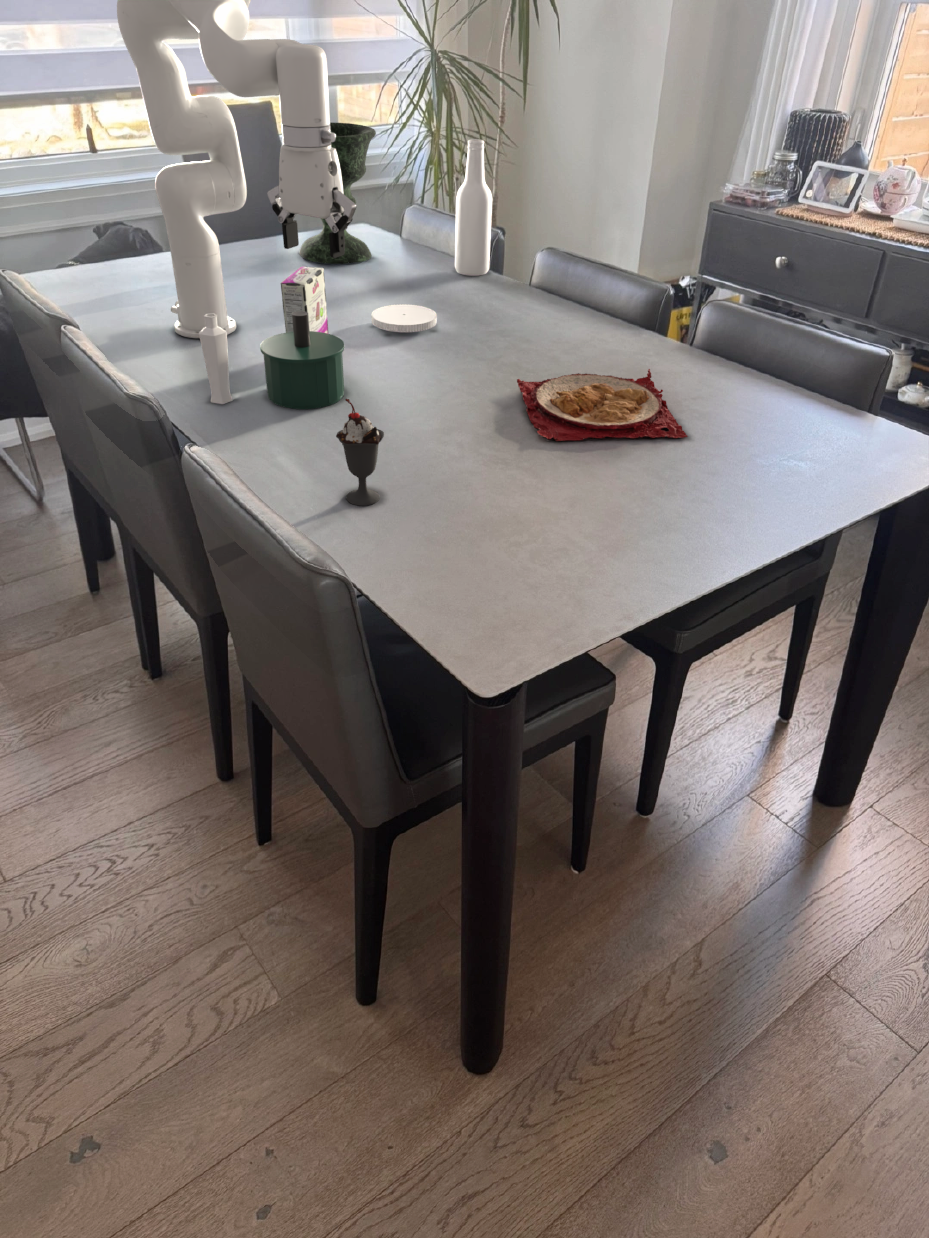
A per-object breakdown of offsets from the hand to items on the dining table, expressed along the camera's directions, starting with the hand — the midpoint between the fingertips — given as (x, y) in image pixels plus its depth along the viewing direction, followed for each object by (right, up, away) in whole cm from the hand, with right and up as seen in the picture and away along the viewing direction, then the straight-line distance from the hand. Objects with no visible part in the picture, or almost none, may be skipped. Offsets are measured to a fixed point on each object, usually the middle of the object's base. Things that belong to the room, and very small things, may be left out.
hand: (314, 251), depth 153 cm
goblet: (-9, +34, +88) cm, 95 cm away
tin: (-4, -21, +13) cm, 25 cm away
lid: (-3, -14, +8) cm, 16 cm away
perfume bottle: (-18, -23, +10) cm, 31 cm away
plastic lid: (+12, +2, +45) cm, 46 cm away
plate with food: (+49, -25, +10) cm, 56 cm away
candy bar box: (-5, -11, +27) cm, 29 cm away
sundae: (+10, -44, -18) cm, 48 cm away
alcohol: (+27, +27, +80) cm, 89 cm away
